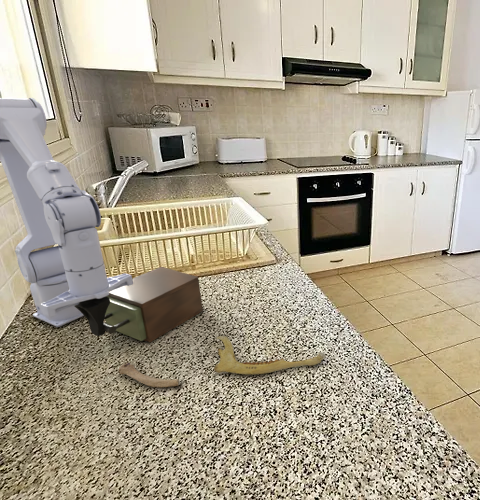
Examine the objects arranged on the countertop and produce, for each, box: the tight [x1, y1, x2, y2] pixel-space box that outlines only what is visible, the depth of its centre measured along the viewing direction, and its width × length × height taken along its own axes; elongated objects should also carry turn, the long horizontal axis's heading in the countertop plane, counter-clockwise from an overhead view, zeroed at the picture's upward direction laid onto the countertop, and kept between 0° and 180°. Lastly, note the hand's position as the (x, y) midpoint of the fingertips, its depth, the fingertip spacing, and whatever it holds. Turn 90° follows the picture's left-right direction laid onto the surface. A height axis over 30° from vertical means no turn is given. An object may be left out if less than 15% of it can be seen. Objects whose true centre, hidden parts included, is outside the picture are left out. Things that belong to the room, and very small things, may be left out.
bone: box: [117, 362, 180, 388], centre depth 63 cm, size 3×11×2 cm, turn 72°
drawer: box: [103, 296, 147, 342], centre depth 76 cm, size 17×10×7 cm, turn 154°
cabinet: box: [108, 266, 204, 343], centre depth 79 cm, size 14×12×9 cm
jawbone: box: [213, 335, 326, 375], centre depth 67 cm, size 21×9×2 cm, turn 79°
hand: (100, 332), depth 69 cm, fingers closed, pressing on drawer
